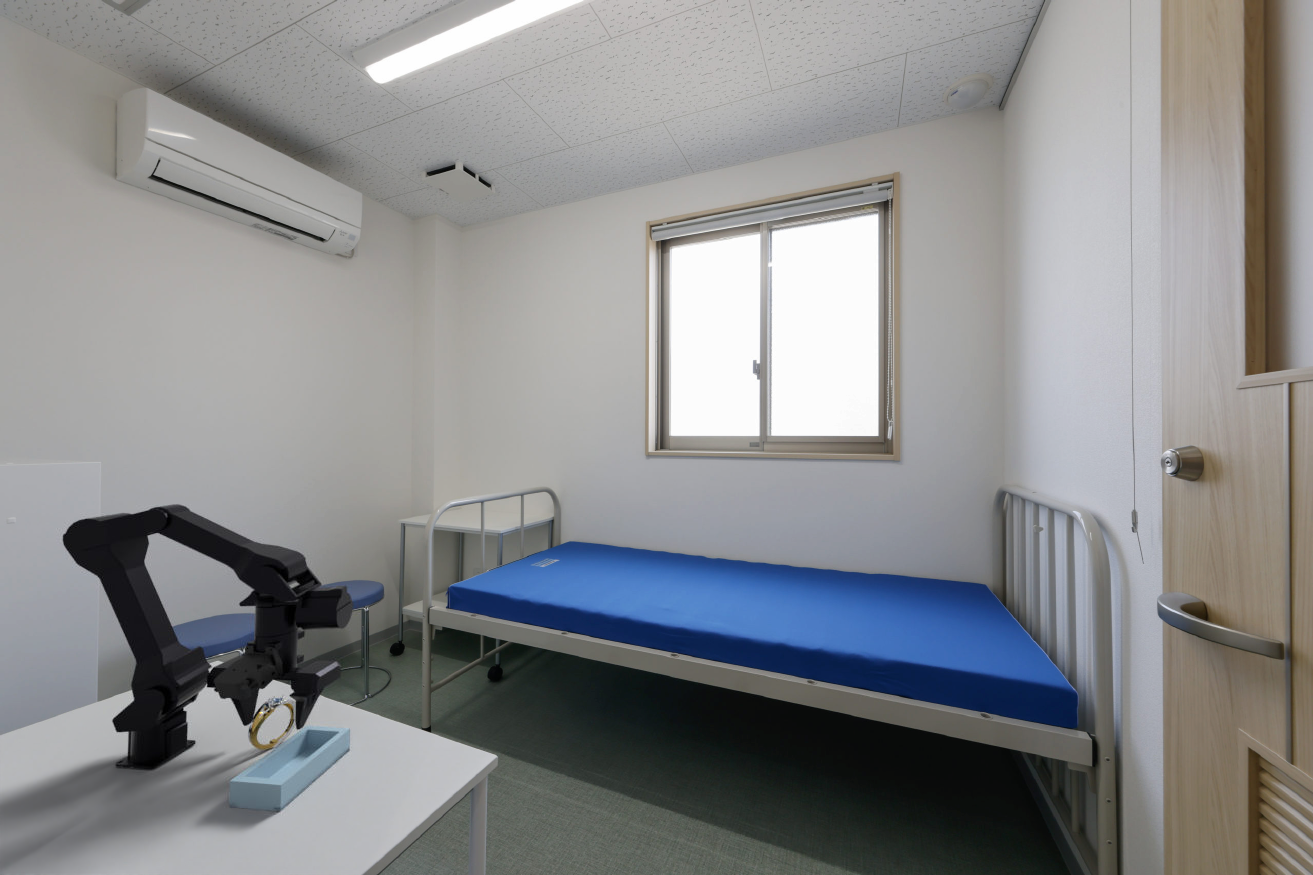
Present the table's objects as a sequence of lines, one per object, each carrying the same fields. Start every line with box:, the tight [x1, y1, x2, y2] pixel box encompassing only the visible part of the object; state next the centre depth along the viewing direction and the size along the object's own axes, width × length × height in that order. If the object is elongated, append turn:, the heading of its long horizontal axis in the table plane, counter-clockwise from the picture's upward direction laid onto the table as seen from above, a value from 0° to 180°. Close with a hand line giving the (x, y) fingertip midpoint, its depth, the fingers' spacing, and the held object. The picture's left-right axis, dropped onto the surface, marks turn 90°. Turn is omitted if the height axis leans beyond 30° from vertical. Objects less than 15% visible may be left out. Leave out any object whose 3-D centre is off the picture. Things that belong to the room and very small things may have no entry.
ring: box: [247, 694, 296, 750], centre depth 78 cm, size 7×3×8 cm, turn 156°
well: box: [228, 725, 351, 812], centre depth 71 cm, size 8×13×4 cm, turn 175°
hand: (273, 726), depth 78 cm, fingers open, 9 cm apart
